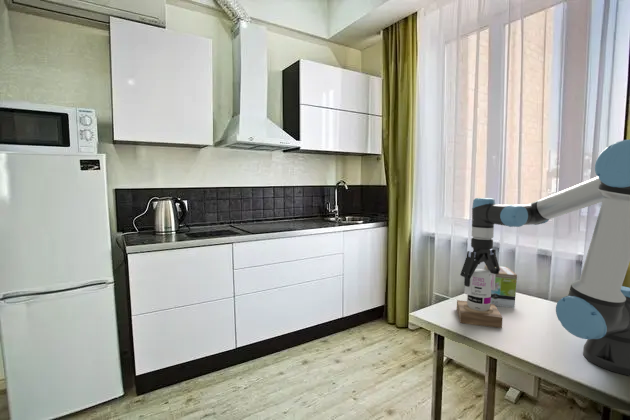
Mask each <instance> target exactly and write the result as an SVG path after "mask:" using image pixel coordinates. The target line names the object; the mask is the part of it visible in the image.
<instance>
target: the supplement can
mask: <svg viewBox="0 0 630 420" xmlns="http://www.w3.org/2000/svg"><path fill="white" fill-rule="evenodd" d="M471 278H473V282H472V295H471V296H470V295H468V294H467V297H466V298H467V299H466V301H467V305H468V306H469V308H471V309H473V310H477V311H488V310H489V309H490V304H491V285H492V275H491V273H490V271H489V270H486V269H484V268H480V267H477V268H476V269H475V271H474V273H473V275H472V277H471Z"/></svg>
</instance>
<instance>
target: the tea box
mask: <svg viewBox="0 0 630 420" xmlns="http://www.w3.org/2000/svg"><path fill="white" fill-rule="evenodd" d="M495 268H496V267H495ZM499 268H500V271H499V274H496V280H495V290H491V304H494V305H495V306H496V307H503V308H513V309H514V308H515V307H516V306H515V305H516V294H517V282H518V281H517V280H518V279H517V278H518V275H517V273H515V272H514V271H513V270H512V269H510V268H509V267H507V266H501V265H499ZM483 269H486V270H488V268H487V266H486V264H485V265H484V268H483ZM490 273H491V272H490Z"/></svg>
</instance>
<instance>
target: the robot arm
mask: <svg viewBox="0 0 630 420" xmlns="http://www.w3.org/2000/svg"><path fill="white" fill-rule="evenodd" d="M594 172H595V175H596V177H593V178H590V179H588V180H586V181H583V182H581V183H578V184H576V185H573V186H571V187H569V188H566V189H563V190H561V191H558V192H556V193H553V194H551V195H548V196H544V198H541V199H539V200H536V201H534V202H531V203H526V204H525V203H523V204H522V203H521V204H520V203H519V204H505V203H504V204H501V203H500V204H499V203H496V201H495V199H494V198H491V197H476V198H474V199H473V202H472V208H471V212H472V213H471V215H472V217H471V220H472V221H471V239H470V242H471V243H470V246H471V248H472V251H470V250H467V252H466V257H465V260H464V263H463V265H462V269H461V272H460V277H463V278H464V280H463V281H464V282H463V283H464V294H465V295H467V296H468V295H470V296H471V295H472V282H473V278H471V277H472V275H473V273H474V271H475V269H476V268H478V265H480V264H481V263H484V264H485V265H486V266H487V268H488V270H489V271H490V272H491V275H492V285H491V290H495V280H496V274H499V271H500V268H499V266H500V265H499V261H498V258H497V255H496V254H497V253H496V249H494V240H493V238H494V229H495V225H498V226H505V227H509V228H513V227H514V228H515V227H516V228H521V227H523V226H527V225H528V226H529V225H543V224H546V223H547V222H548V221H550V220H551V219H554V218H558V217H560V216H563V215H565V214H569V213H572V212H575V211H578V210H579V211H580V210H582V209H585V208H587V207H590V206H594V205H597V204H600V203H601V205H600V209H599V213H598V215H597V219H596V222H595V225H594V229H593V233H592V235H591V240H590V243H589V245H588V246H589V247H588V250H587V254H586V257H585V260H584V263H583V266H582V271H581V274H580V277H579V279H577V280H574V281H572V282H571V284H570V287H569V290H568V295H566V296H563V297H561V298H560V299H559V300H558V301H557V302H556V305H555V314H556V315H555V316H556V318H557V320H558V321H559V322H560V324H561V326H562V327H563V328H564V329H565V330H566V331H567V332H568V333H569V334H571V335H573V337H574V336H575V337H577V338H580V339H583V340H586V341H585V343H584V345H583V350H582V356H584V358H585V359H586V360H588V361H589V362H590V363H592V364H594V365H596V366H598V367H600V368H602V369H605V370H607V371H611V372H613V373H617V374H621V375H623V376H630V287H627V286H625V285H624V286H623V284H624V281H625V277H626V274H627V272H628V268H629V266H630V265H629V264H630V139H629V138H628V139H622V140H619V141H617V142H614V143H612V144H610V145H609V146H607V147H606V148H605V149H603V150H602V151H601V152H600V153H599V154H598V157H597V158H596V160H595V164H594ZM495 267H496V268H495Z"/></svg>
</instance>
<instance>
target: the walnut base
mask: <svg viewBox="0 0 630 420" xmlns="http://www.w3.org/2000/svg"><path fill="white" fill-rule="evenodd" d="M456 312H457V315H458V319H459V322H460V324H466V325H476V326H481V327H490V328H499V329H503V318H504V317H503V316H502V314H501V313H500V311H499V309H498V308H497V306H495V305H494V304H490V309H489V310H488V311H477V310H473V309H471V308H469V306H468V305H467V300H460V299H457V300H456Z"/></svg>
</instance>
